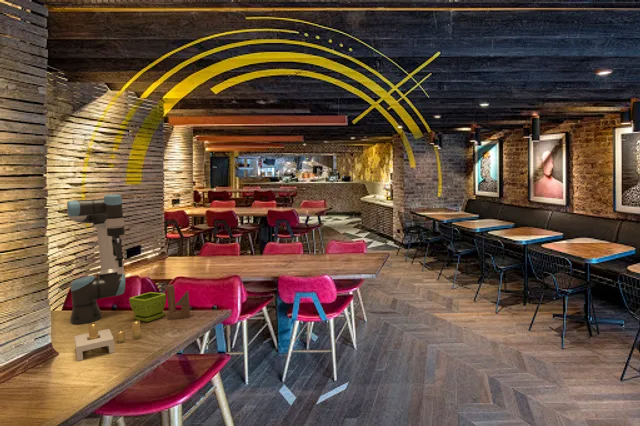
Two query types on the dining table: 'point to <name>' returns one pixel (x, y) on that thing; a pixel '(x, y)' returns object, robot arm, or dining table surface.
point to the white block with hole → (94, 342)
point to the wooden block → (177, 304)
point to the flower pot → (145, 311)
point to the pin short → (120, 336)
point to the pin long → (93, 334)
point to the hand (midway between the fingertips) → (119, 271)
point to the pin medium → (136, 329)
